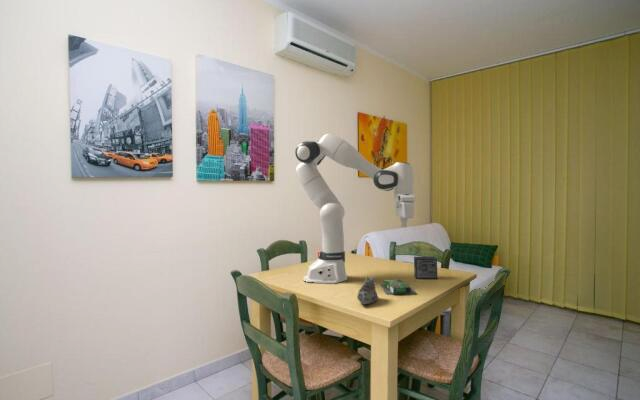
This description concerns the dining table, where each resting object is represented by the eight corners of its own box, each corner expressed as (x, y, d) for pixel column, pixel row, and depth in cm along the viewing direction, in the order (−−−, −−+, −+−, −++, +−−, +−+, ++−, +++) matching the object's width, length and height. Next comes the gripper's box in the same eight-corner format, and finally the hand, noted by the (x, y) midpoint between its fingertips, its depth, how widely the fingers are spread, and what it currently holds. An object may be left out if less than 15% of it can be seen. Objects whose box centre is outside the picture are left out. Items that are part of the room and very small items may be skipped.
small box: (434, 276, 177) (434, 256, 176) (437, 279, 170) (437, 258, 170) (413, 276, 178) (413, 255, 177) (416, 279, 171) (416, 258, 171)
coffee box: (392, 287, 144) (383, 280, 158) (392, 294, 145) (383, 286, 158) (410, 286, 146) (399, 279, 159) (411, 293, 146) (399, 285, 159)
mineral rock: (362, 308, 129) (361, 282, 129) (345, 301, 138) (344, 276, 138) (387, 302, 136) (386, 277, 136) (369, 295, 145) (369, 272, 145)
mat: (386, 294, 146) (386, 293, 146) (380, 285, 160) (380, 284, 160) (416, 293, 146) (416, 293, 146) (408, 285, 160) (408, 284, 160)
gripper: (392, 196, 168) (392, 224, 169) (401, 197, 148) (401, 229, 148) (405, 196, 168) (405, 224, 168) (416, 197, 148) (416, 229, 148)
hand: (403, 226), depth 158 cm, fingers closed
